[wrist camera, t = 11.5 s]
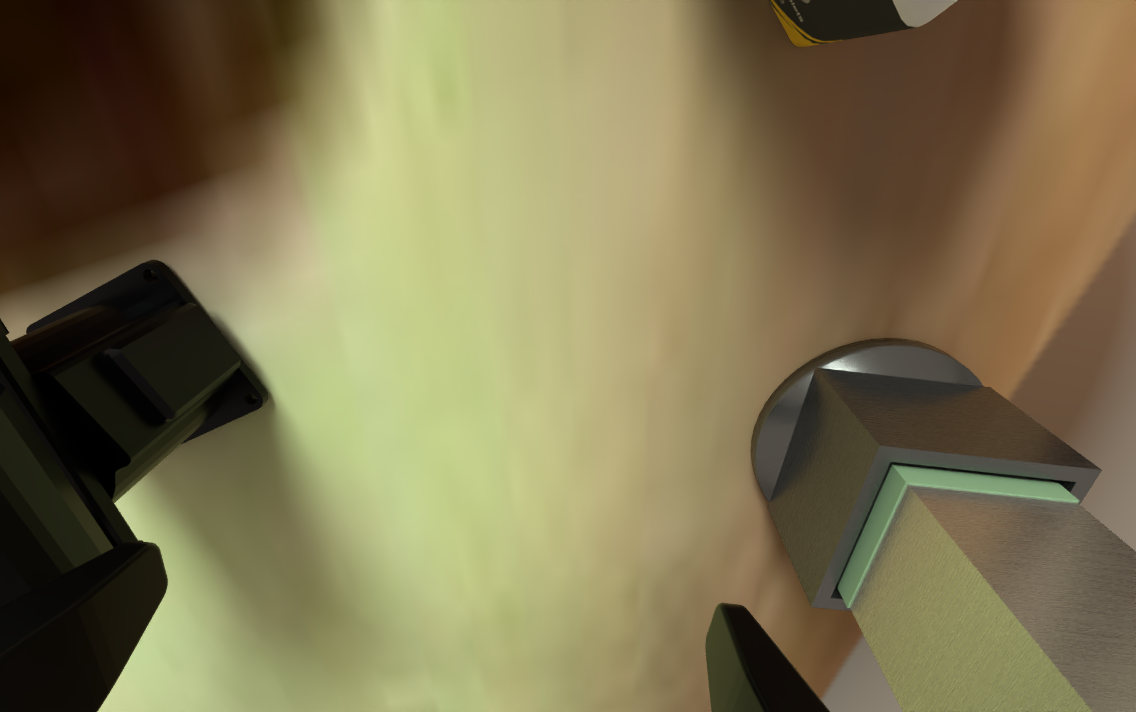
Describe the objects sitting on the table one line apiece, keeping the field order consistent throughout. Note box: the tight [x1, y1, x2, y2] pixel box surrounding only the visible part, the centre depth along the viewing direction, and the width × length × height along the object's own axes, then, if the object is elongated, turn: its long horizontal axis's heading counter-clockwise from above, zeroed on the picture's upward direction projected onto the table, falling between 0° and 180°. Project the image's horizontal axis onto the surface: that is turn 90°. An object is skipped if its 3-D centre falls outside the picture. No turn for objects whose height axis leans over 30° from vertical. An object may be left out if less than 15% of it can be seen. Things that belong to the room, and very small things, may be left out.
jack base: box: [751, 338, 1102, 611], centre depth 20 cm, size 9×9×6 cm
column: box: [837, 462, 1136, 712], centre depth 14 cm, size 5×5×12 cm
